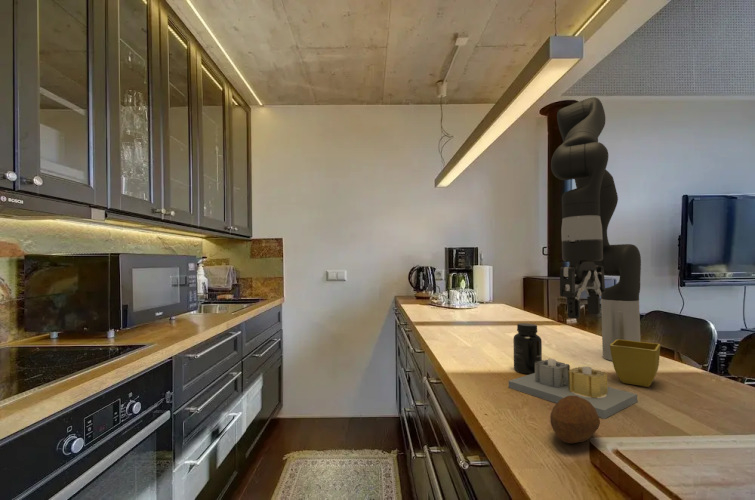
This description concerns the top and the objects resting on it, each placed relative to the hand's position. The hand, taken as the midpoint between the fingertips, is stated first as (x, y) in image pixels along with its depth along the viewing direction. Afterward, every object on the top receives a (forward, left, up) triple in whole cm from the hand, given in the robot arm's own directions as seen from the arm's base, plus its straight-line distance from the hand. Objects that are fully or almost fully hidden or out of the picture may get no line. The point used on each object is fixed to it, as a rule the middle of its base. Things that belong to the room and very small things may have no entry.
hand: (584, 315), depth 76 cm
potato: (+20, +8, -17) cm, 28 cm away
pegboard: (+1, -3, -17) cm, 17 cm away
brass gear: (+1, +1, -15) cm, 15 cm away
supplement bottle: (-7, -18, -17) cm, 26 cm away
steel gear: (+1, -7, -15) cm, 17 cm away
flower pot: (-19, +2, -17) cm, 26 cm away
